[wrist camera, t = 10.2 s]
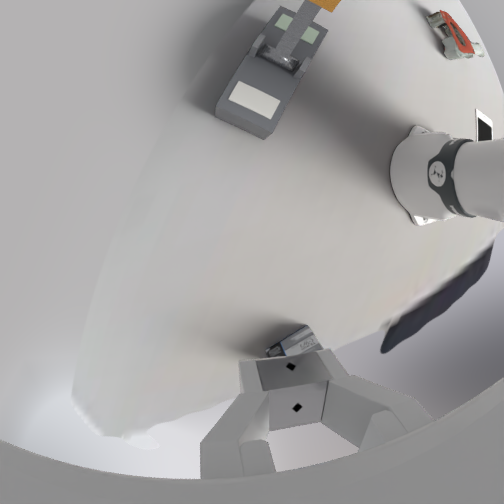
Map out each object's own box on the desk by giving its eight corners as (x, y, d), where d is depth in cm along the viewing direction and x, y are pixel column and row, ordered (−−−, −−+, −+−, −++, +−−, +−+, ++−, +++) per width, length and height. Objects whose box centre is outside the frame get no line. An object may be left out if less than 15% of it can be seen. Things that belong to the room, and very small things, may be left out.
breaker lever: (290, 75, 31) (345, -2, 18) (256, 58, 30) (303, -24, 17) (294, 66, 32) (346, -6, 19) (262, 50, 30) (306, -26, 18)
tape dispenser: (475, 54, 40) (428, 2, 34) (488, 50, 35) (441, -5, 29) (473, 94, 42) (421, 36, 36) (488, 92, 37) (437, 29, 31)
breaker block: (263, 139, 39) (277, 128, 30) (215, 116, 37) (215, 99, 29) (315, 45, 36) (336, 21, 27) (272, 24, 34) (285, -5, 25)
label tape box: (307, 323, 47) (334, 363, 36) (316, 339, 49) (343, 379, 37) (264, 349, 47) (279, 394, 36) (275, 363, 49) (291, 408, 37)
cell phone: (490, 121, 44) (492, 120, 43) (489, 180, 47) (491, 180, 47) (474, 108, 42) (476, 108, 42) (473, 171, 46) (475, 171, 45)
